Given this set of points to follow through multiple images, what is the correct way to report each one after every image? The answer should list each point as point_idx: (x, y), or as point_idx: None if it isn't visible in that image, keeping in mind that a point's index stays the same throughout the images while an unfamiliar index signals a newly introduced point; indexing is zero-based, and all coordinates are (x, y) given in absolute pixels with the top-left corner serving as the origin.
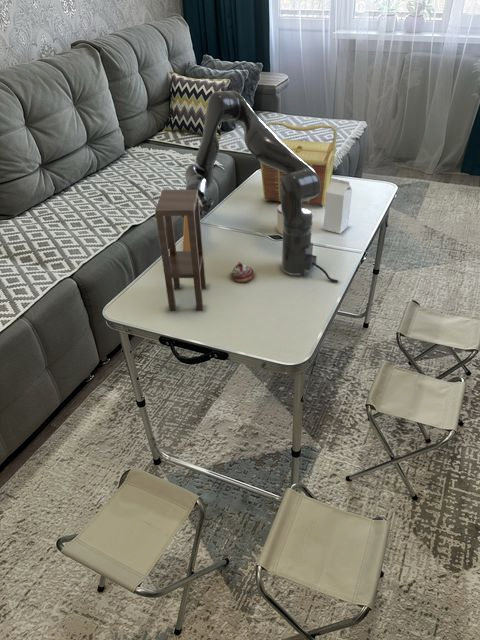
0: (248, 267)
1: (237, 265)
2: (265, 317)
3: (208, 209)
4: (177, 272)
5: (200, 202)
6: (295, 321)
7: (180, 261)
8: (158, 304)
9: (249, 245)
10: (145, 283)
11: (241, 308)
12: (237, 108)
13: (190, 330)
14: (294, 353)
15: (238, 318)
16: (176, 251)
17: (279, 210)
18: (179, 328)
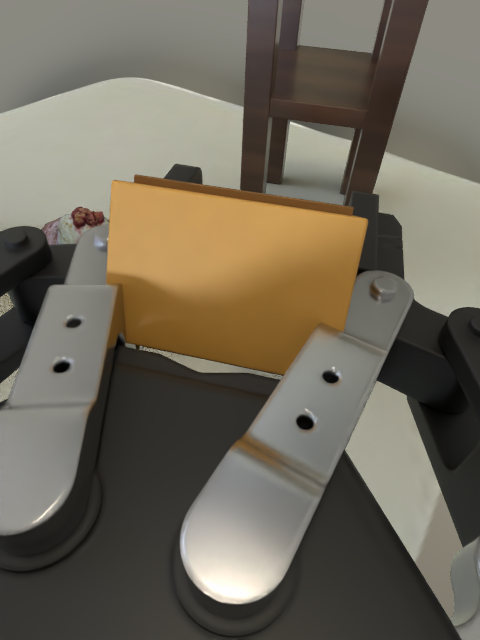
0: (48, 233)
1: (94, 216)
2: (122, 137)
3: (16, 311)
4: (350, 54)
5: (77, 285)
6: (66, 121)
7: (343, 76)
8: (394, 211)
9: None
10: (473, 303)
11: (164, 163)
12: None
13: (303, 141)
14: (122, 85)
15: (185, 145)
16: (365, 110)
17: None
18: (328, 148)
